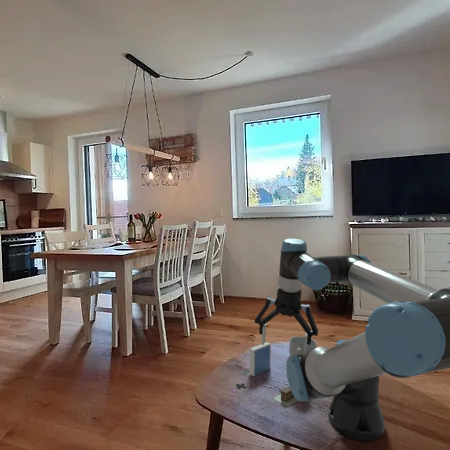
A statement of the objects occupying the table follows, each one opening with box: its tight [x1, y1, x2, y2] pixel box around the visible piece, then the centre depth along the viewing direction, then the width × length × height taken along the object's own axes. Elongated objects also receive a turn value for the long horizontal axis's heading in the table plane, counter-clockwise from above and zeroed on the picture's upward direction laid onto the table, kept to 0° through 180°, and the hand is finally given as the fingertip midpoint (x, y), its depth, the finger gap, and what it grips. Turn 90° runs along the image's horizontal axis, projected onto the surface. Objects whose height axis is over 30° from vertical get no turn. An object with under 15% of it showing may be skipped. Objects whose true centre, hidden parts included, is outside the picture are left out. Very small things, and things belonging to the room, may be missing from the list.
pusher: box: [280, 385, 294, 402], centre depth 115 cm, size 4×16×9 cm, turn 131°
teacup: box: [288, 335, 318, 356], centre depth 139 cm, size 14×11×8 cm
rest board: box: [273, 393, 299, 408], centre depth 116 cm, size 6×19×1 cm, turn 131°
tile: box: [249, 341, 272, 377], centre depth 129 cm, size 2×9×10 cm, turn 131°
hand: (283, 347), depth 115 cm, fingers open, 13 cm apart
